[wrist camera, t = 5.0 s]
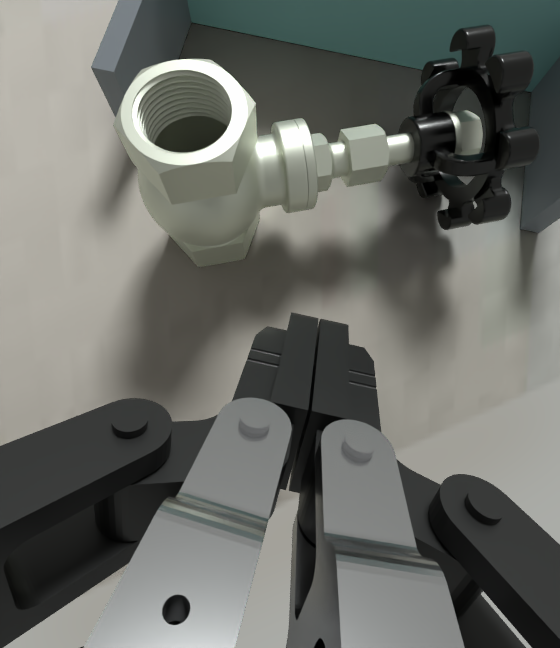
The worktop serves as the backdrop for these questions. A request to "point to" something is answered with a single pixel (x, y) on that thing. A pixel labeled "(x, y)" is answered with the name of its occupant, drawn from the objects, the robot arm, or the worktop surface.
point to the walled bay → (361, 51)
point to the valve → (317, 147)
